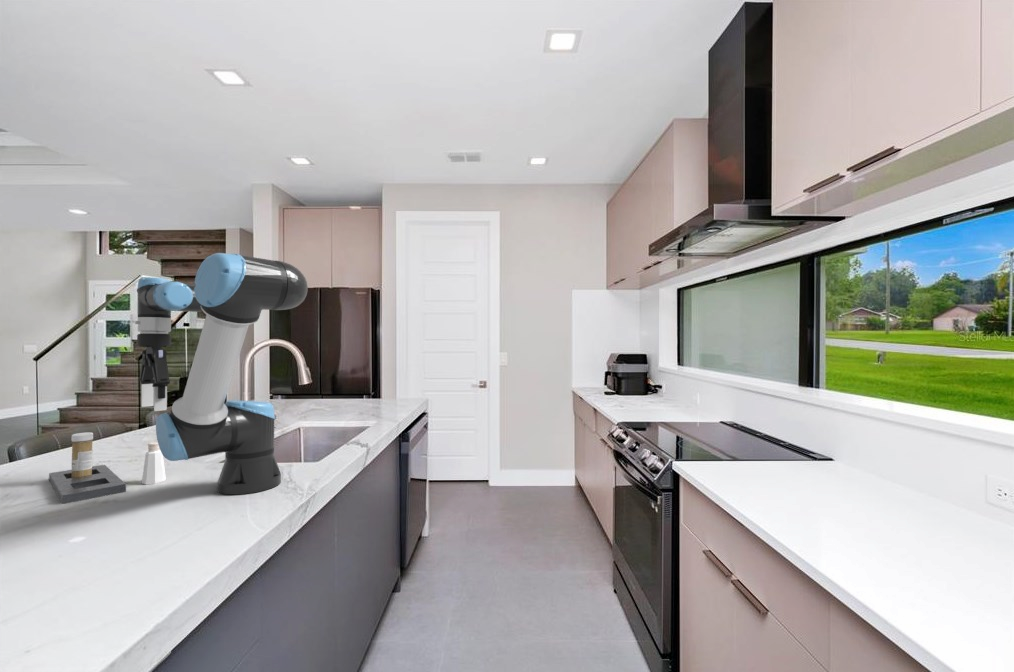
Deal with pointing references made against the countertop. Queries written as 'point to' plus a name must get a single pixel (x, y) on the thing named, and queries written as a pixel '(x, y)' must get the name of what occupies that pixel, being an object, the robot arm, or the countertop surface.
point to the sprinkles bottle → (82, 454)
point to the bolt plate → (86, 484)
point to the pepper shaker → (153, 465)
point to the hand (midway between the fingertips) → (153, 408)
